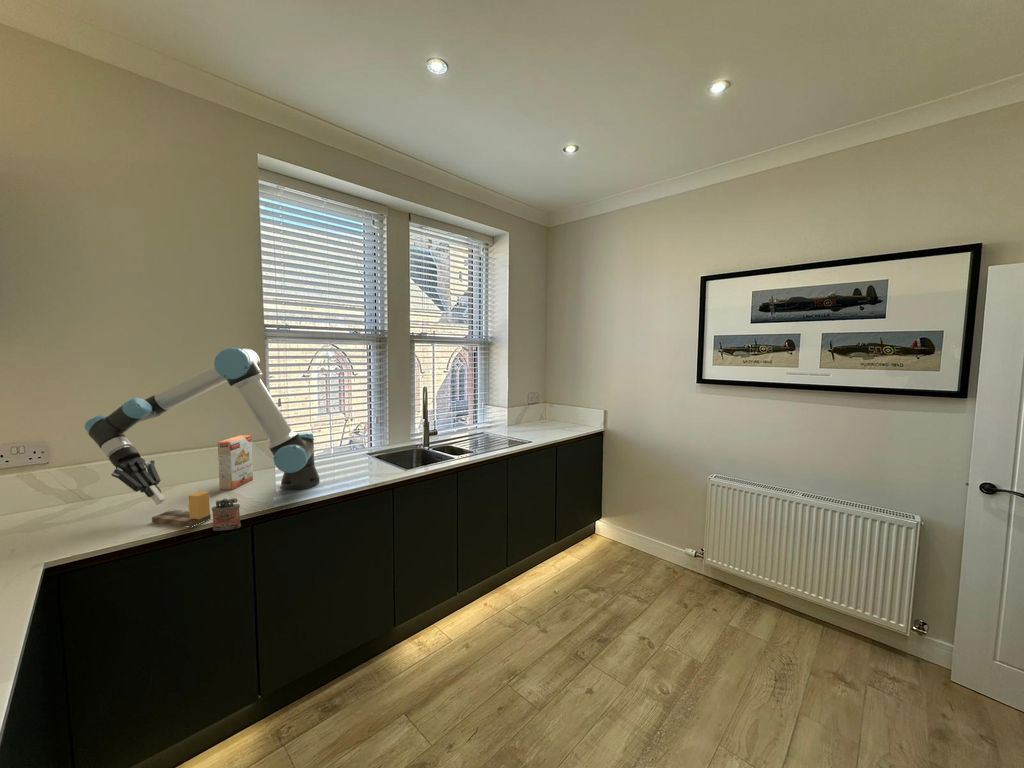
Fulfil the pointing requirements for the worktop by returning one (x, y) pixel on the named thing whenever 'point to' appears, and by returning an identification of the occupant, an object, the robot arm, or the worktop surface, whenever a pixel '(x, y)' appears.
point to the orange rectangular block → (199, 505)
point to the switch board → (178, 518)
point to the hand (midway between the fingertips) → (160, 501)
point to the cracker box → (235, 461)
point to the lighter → (226, 515)
